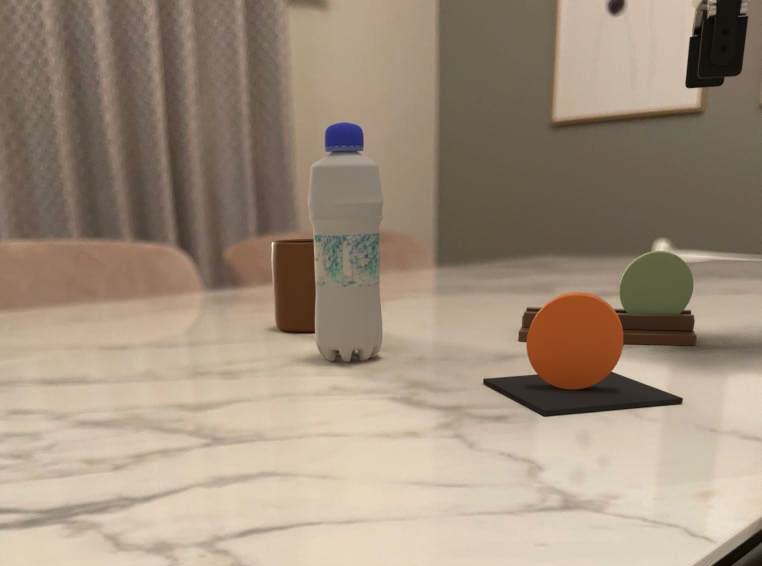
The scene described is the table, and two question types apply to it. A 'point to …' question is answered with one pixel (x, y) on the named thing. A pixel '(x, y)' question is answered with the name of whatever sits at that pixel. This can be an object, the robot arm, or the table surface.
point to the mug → (294, 284)
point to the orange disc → (575, 341)
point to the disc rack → (640, 327)
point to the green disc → (656, 284)
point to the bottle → (346, 246)
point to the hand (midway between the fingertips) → (711, 82)
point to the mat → (580, 394)
